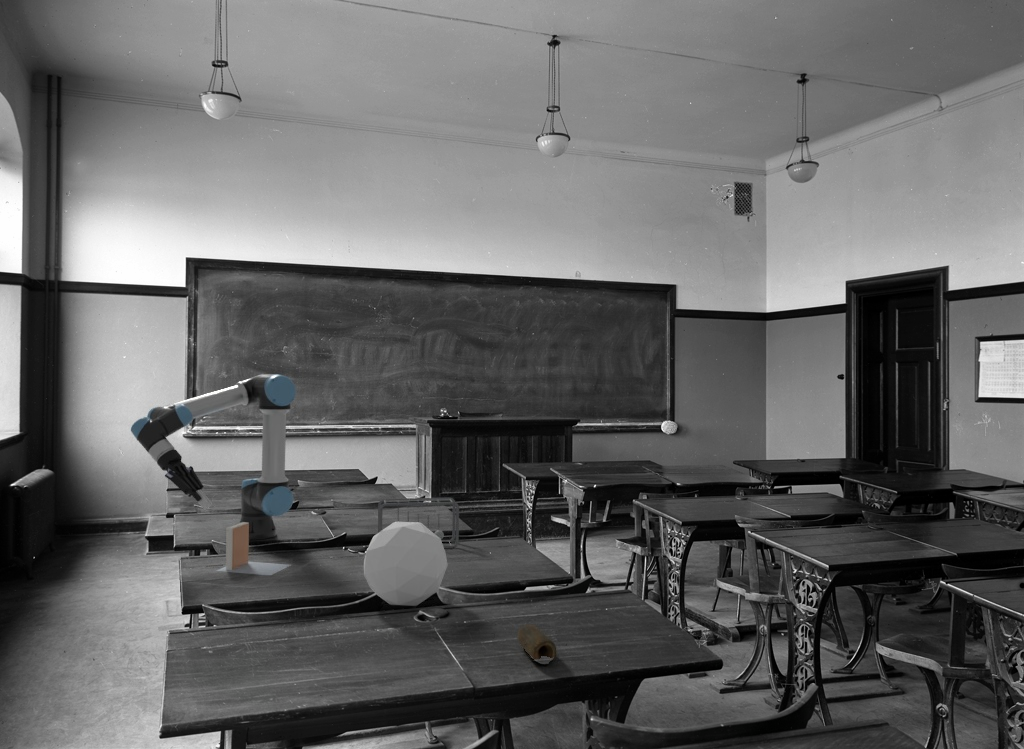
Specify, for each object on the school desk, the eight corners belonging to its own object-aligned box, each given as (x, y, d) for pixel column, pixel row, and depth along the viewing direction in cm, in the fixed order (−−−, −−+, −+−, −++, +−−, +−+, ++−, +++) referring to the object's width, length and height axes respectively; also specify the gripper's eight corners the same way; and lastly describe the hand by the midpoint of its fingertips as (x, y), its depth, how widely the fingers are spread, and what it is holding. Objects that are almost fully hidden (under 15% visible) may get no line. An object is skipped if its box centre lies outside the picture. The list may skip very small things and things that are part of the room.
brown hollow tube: (561, 666, 187) (562, 638, 187) (534, 669, 185) (534, 641, 185) (538, 644, 201) (538, 618, 201) (512, 647, 199) (512, 621, 199)
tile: (225, 569, 265) (226, 527, 265) (242, 562, 275) (242, 522, 274) (232, 570, 264) (233, 528, 264) (248, 563, 274) (249, 522, 274)
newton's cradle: (454, 542, 314) (455, 497, 314) (458, 548, 304) (459, 501, 303) (377, 544, 307) (378, 498, 307) (378, 551, 297) (379, 503, 297)
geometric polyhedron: (398, 624, 240) (410, 547, 255) (459, 610, 226) (468, 529, 241) (338, 599, 226) (354, 518, 241) (399, 582, 212) (412, 498, 227)
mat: (215, 571, 264) (215, 570, 264) (238, 561, 277) (238, 560, 277) (270, 576, 259) (270, 575, 259) (291, 566, 273) (291, 564, 273)
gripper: (171, 460, 282) (212, 510, 279) (146, 465, 269) (189, 517, 266) (184, 446, 281) (226, 496, 278) (160, 450, 268) (203, 502, 264)
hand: (208, 506), depth 272 cm, fingers closed
